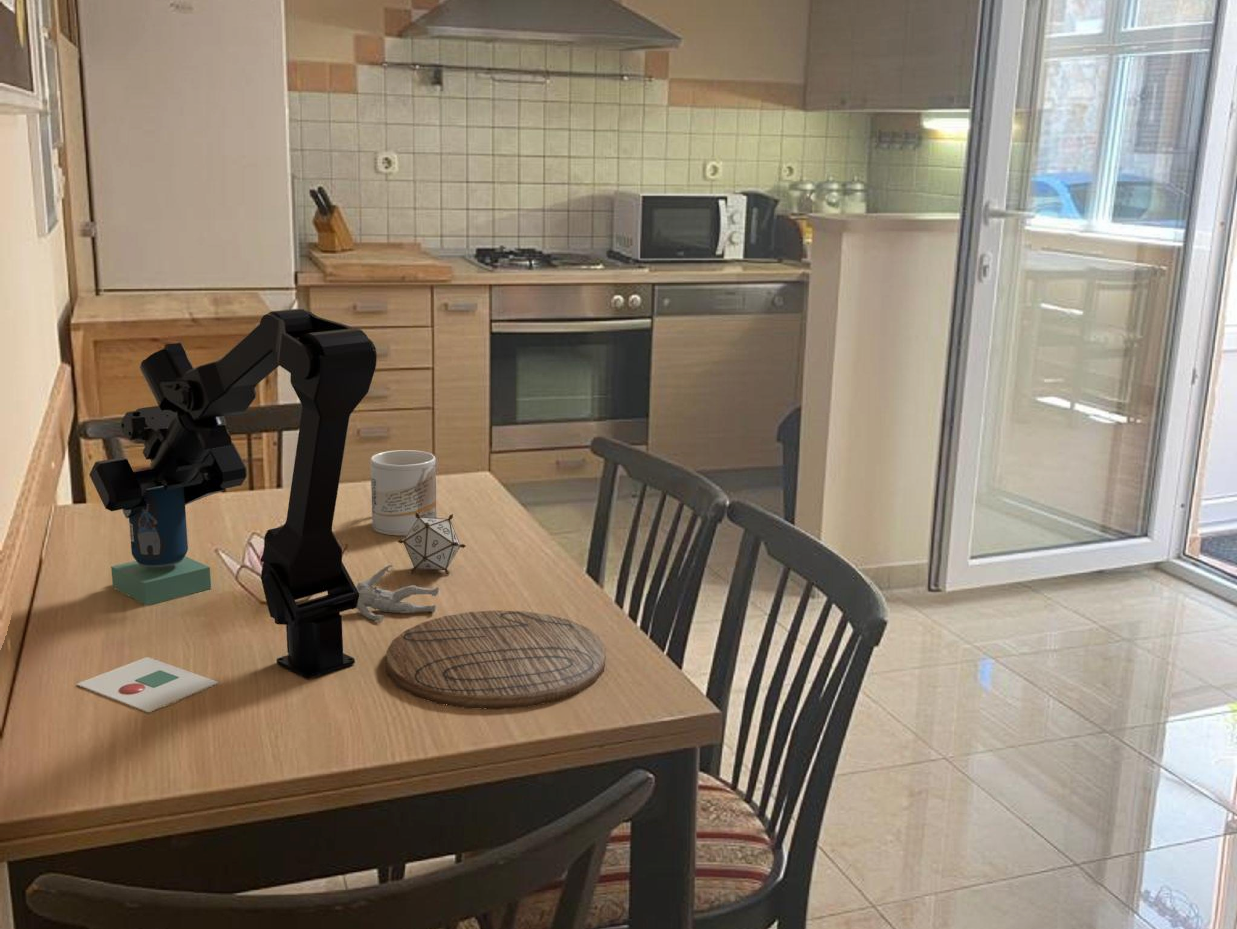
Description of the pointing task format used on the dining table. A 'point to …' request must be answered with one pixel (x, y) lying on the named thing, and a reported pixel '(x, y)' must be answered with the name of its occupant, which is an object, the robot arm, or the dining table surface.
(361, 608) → the soldier figure
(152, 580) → the base brick
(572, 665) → the trivet
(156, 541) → the soda can
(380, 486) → the mug
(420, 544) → the game die
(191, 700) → the dining table surface
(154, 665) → the page
